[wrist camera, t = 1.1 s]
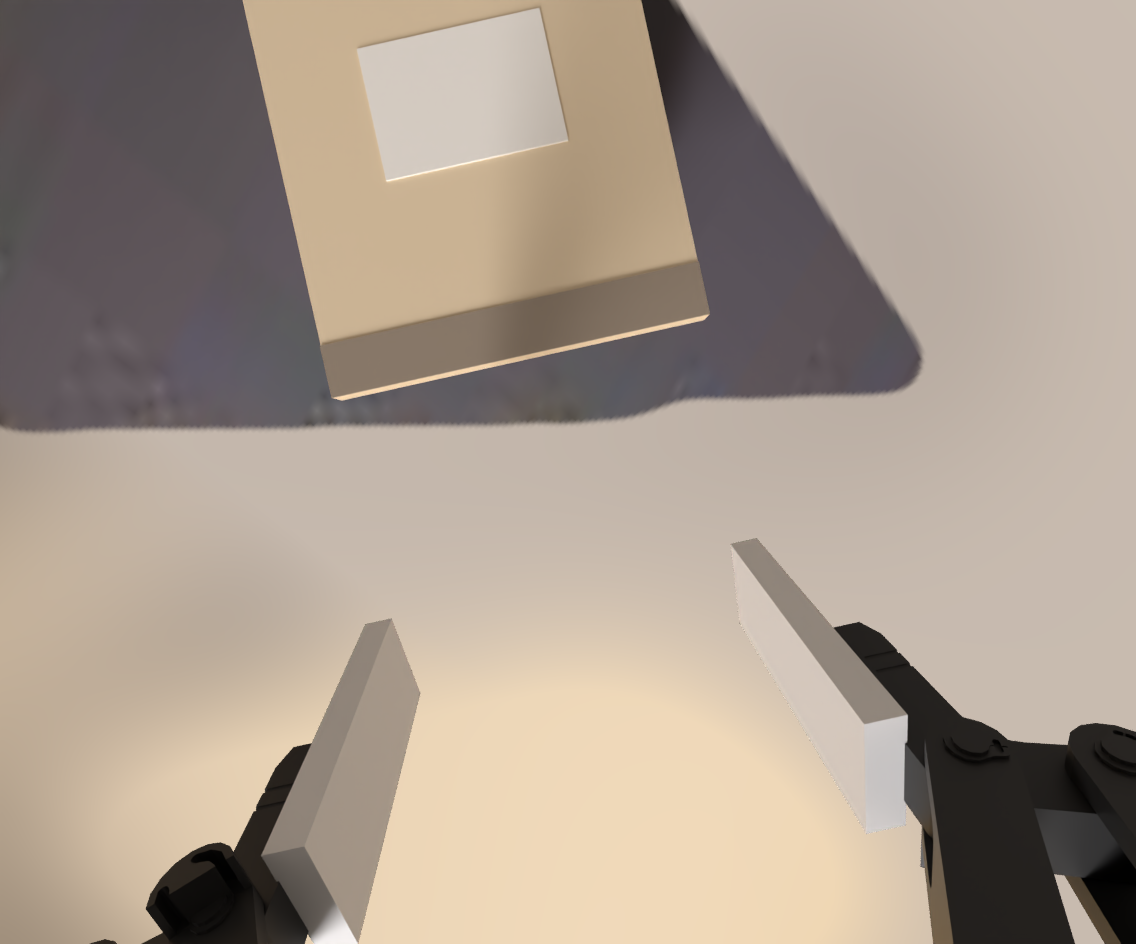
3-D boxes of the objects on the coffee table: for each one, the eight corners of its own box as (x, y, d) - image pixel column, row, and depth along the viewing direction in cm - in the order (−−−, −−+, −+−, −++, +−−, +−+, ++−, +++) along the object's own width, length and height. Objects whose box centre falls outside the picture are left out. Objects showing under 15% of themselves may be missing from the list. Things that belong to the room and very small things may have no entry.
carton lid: (221, -129, 21) (206, -154, 21) (588, -212, 21) (589, -242, 21) (341, 400, 22) (331, 397, 21) (704, 319, 22) (709, 313, 21)
